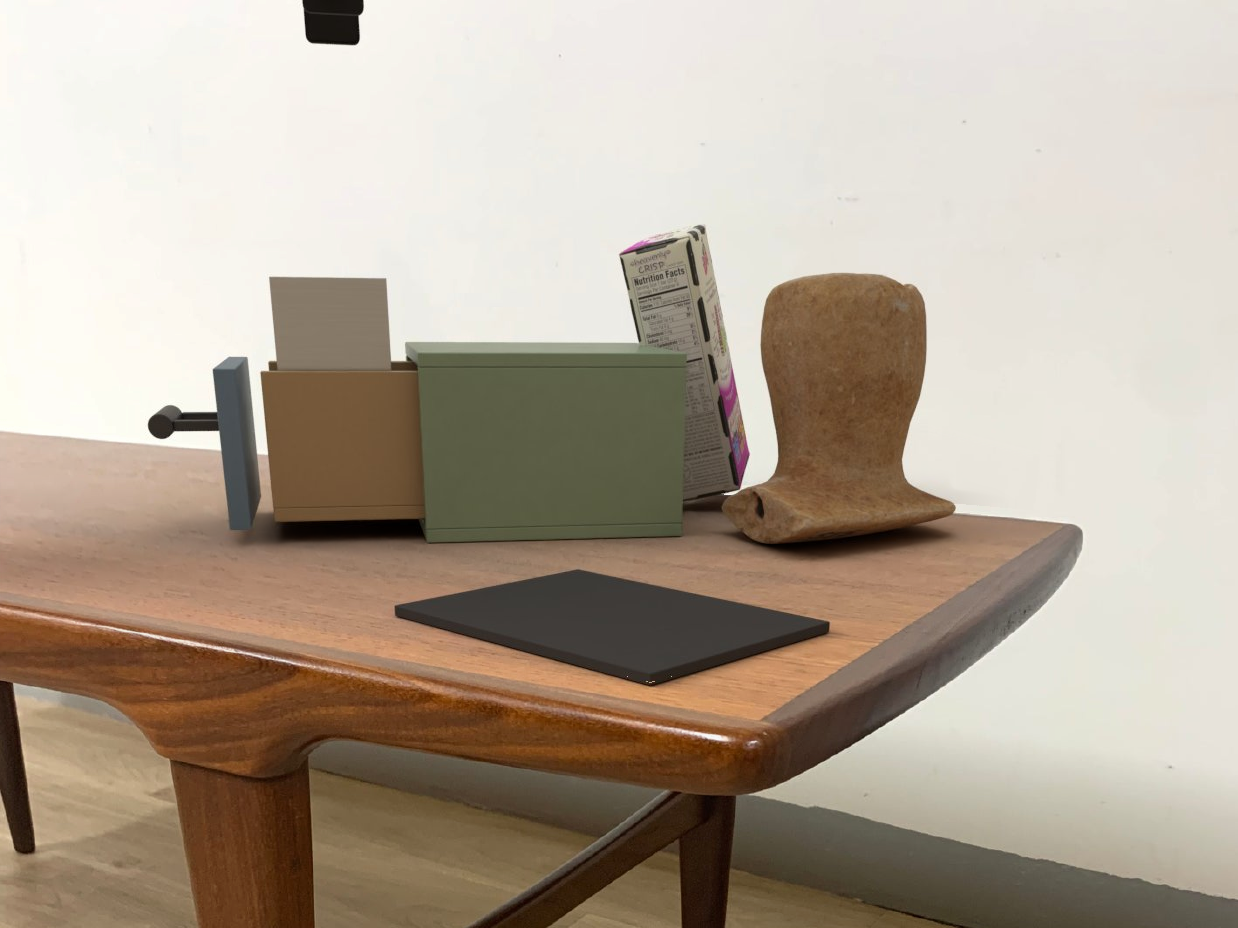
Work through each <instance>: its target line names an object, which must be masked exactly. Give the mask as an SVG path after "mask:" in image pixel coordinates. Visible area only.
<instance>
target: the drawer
mask: <svg viewBox="0 0 1238 928" xmlns="http://www.w3.org/2000/svg"><path fill="white" fill-rule="evenodd" d="M267 367H268V370H261V371H260V372H259V373H260V384H261V395H262V404H263V405H262V406H263V415H264V416H263V417H264V425H265V436H266V446H267V447H266V448H267V458H268V467H269V469H268V470H269V478H270V488H271V490H270V491H271V498H272V499H271V500H272V508H273V509H272V511H273V520H274V522H275V523H290V522H291V523H292V522H293V523H294V522H296V523H298V522H334V521H335V522H337V521H378V520H379V521H381V520H384V521H385V520H419V519H425V508H424V488H423V468H422V448H421V427H420V407H419V387H418V366H417V365H416V364H415V363H414V362H413V361H406V360H391V369H392V371H277V360H268V362H267ZM249 368H250V367H249V358H248V356H227V358H225V359H224V360H223V361H221V362H220V363H219V364H217V365H216V366H215V367H213V368H212V378H213V386H214V388H213V389H214V395H215V397H214V398H215V406H216V411H183V412H182V410H181V409H180V408H179V407H178V406H176V405H173V404H167V405H164V406H163V407H162V408H160V409H159V410H158V411H156V412H155V413H154V414H152V416H150V417H149V419H148V421H147V429H148V431H149V433H150V434H151V436H152V437H154V438H156V439H159V440H165V439H168V438H170V437H171V436H172V435H173V434H175V432H218V434H219V444H220V451H221V460H222V470H223V480H224V489H225V497H226V506H227V517H228V525H229V530H230V531H251V530H252V528H253V525H254V521H255V519H256V515H257V512H258V509H259V505H260V503H261V499H262V490H261V481H260V480H261V479H260V470H259V459H258V448H257V439H256V430H255V419H254V417H255V416H254V407H253V399H252V388H251V376H250V369H249Z"/></svg>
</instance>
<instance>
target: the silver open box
mask: <svg viewBox="0 0 1238 928" xmlns="http://www.w3.org/2000/svg"><path fill="white" fill-rule="evenodd" d="M268 281H269V291H270V302H271V303H270V305H271V314H272V325H273V326H272V327H273V336H274V349H275V359H276V360H275V361H277V371H392V369H391V361H392V357H391V356H392V354H391V335H390V319H389V318H390V317H389V316H390V315H389V301H388V285H387V283H388V282H387V278H386V277H341V276H340V277H339V276H338V277H333V276H330V277H329V276H328V277H327V276H326V277H324V276H322V277H321V276H269V277H268Z"/></svg>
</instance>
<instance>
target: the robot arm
mask: <svg viewBox="0 0 1238 928" xmlns="http://www.w3.org/2000/svg"><path fill="white" fill-rule="evenodd" d="M301 2H302V8H303V20H304V33H305V38H306V40H307V41H308V43H310V44H313V45H314V44H315V45H334V46H335V45H337V46H357V45H358V44H359V43H360V40H361V33H360V16H361V15H362V14H363V13H364V9H365V4H364V3H365V2H364V0H301Z"/></svg>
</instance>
